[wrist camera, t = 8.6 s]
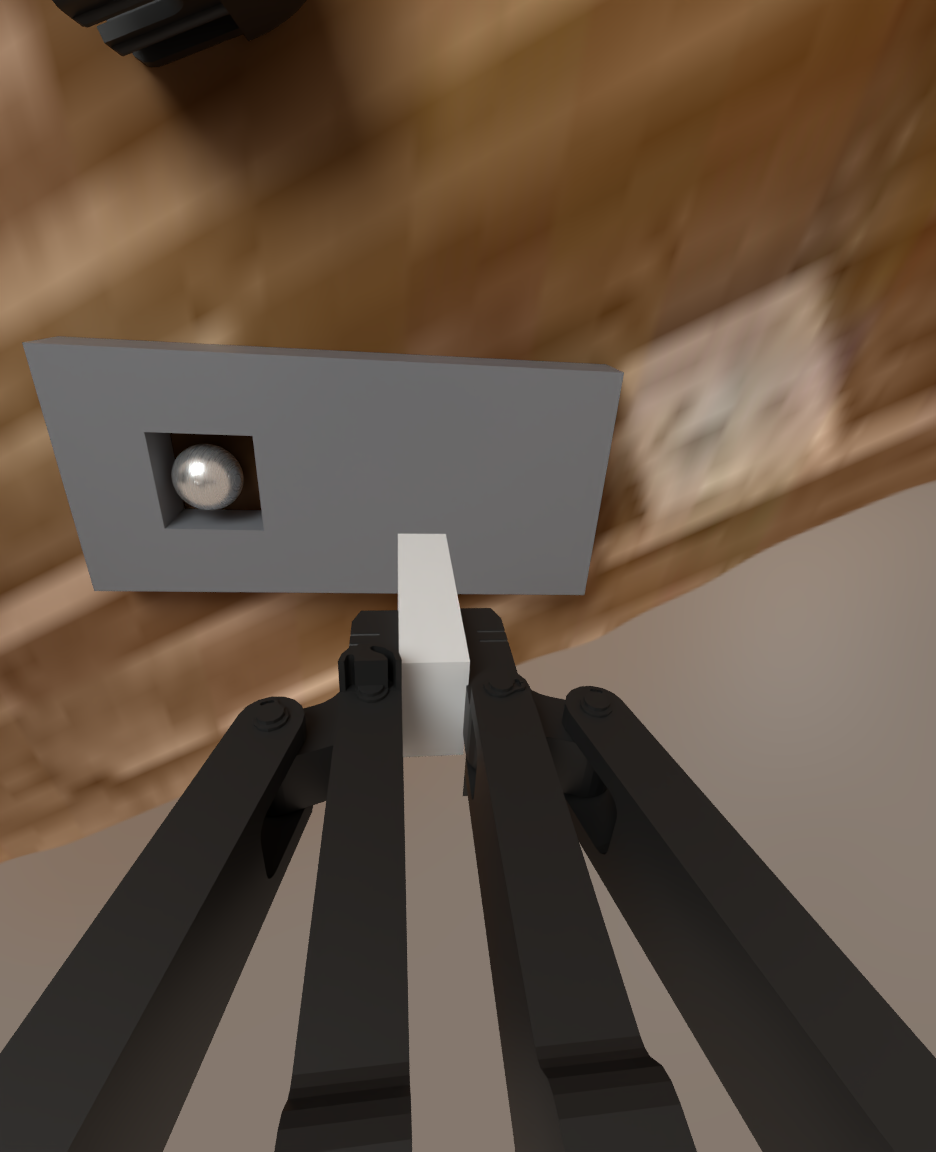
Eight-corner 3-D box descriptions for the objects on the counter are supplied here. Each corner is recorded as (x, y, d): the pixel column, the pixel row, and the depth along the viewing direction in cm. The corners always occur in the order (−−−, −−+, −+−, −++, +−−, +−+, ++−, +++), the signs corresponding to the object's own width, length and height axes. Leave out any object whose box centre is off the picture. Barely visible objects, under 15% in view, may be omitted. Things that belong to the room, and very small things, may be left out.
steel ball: (259, 501, 28) (203, 494, 28) (251, 440, 26) (192, 434, 27) (225, 523, 25) (163, 515, 25) (214, 456, 23) (149, 450, 24)
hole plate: (118, 567, 29) (94, 590, 27) (58, 336, 24) (22, 342, 22) (572, 572, 31) (584, 595, 29) (606, 364, 26) (623, 372, 24)
